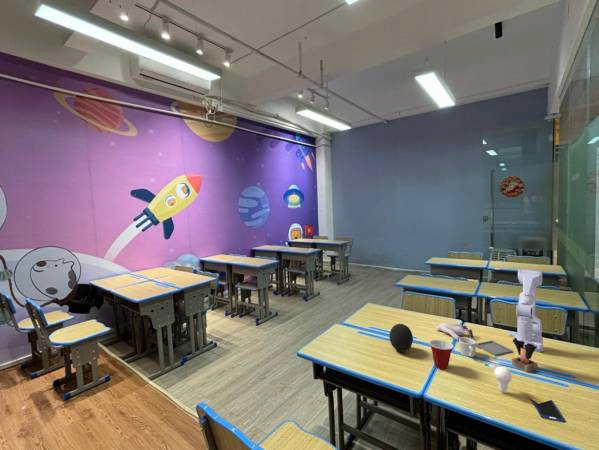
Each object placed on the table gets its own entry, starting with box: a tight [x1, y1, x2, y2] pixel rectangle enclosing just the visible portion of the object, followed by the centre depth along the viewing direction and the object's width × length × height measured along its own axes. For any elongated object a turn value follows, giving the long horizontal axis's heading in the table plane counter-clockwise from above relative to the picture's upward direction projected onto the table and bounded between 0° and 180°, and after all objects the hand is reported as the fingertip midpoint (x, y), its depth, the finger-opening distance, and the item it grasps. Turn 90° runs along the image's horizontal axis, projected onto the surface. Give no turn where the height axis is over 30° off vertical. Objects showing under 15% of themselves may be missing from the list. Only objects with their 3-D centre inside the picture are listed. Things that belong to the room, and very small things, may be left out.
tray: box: [476, 340, 514, 357], centre depth 153 cm, size 12×12×2 cm
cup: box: [458, 336, 477, 358], centre depth 148 cm, size 11×8×8 cm
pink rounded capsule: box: [519, 347, 530, 365], centre depth 135 cm, size 3×3×8 cm
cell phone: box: [530, 398, 567, 424], centre depth 110 cm, size 7×14×1 cm, turn 157°
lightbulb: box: [493, 366, 513, 394], centre depth 119 cm, size 6×6×11 cm
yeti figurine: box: [436, 322, 474, 343], centre depth 174 cm, size 20×7×20 cm
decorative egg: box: [388, 323, 414, 352], centre depth 156 cm, size 12×12×15 cm
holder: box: [511, 356, 539, 373], centre depth 136 cm, size 7×7×4 cm
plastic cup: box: [428, 339, 454, 371], centre depth 139 cm, size 11×11×12 cm
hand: (524, 356), depth 135 cm, fingers closed on pink rounded capsule, 3 cm apart
